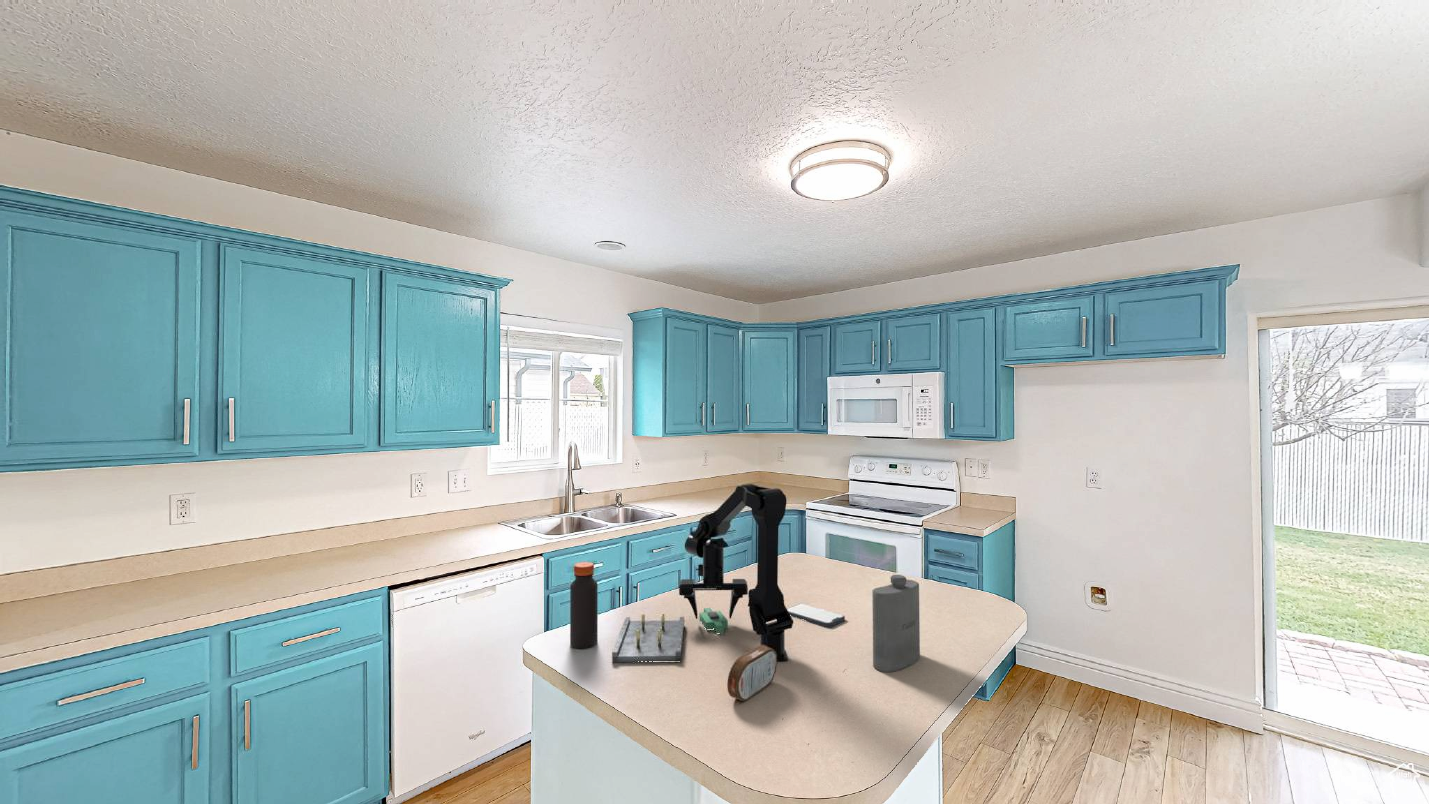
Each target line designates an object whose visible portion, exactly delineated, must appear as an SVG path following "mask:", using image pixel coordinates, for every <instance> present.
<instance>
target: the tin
mask: <svg viewBox="0 0 1429 804" xmlns="http://www.w3.org/2000/svg"><path fill="white" fill-rule="evenodd" d="M777 662H778V661H777V654H776V652H775V650H773V649H772V648H769V647H767V646H766V645H761V644H760V645H758V646H756V647H754V648H753V649H751V650H749V651H747V652H746V653H744V654H742V655H741V656H738V658H736V659H735V661H734V662H733V664H732V666H731V668H730V670H729V673H728V677H727V681H726V682H727V688H726V689H727V691H728V695H729V696H730V697H731V698H734V699H737V700H738V701H741V702H746V701H748V700H749V699H751V698H752V697H754V696H755V695H757V694H759V693H760V692H762V691H763V690H764V689H766V688H767V687H769V685H771V683H772V681H773V680H774V677H775V675H776V672H777V664H778V663H777ZM759 691H760V692H759ZM756 693H757V694H756ZM753 695H754V696H753Z"/></svg>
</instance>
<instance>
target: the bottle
mask: <svg viewBox="0 0 1429 804" xmlns="http://www.w3.org/2000/svg"><path fill="white" fill-rule="evenodd" d="M594 566H595V563H594V562H590V561H581V562H577V563H575V564H573V576H574V577H575V579H574V580H573V581H572V582H571V584H570V587H569V588H570V589H569V593H570V594H569V595H570V598H569V599H570V601H569V603H570V604H569V607H570V609H569V610H570V611H569V612H570V613H569V614H570V615H569V619H570V621H569V622H570V623H569V632H570V634H569V638H570V639H569V644H570V646H571V647H572V648H573V649H578V650H582V649H583V650H584V649H588V648H589V649H590V648H592V647H594V646H596V645H597V643H598V639H599V638H598V631H599V630H598V627H599V626H598V623H599V622H598V617H599V616H598V612H599V610H598V600H599V599H598V594H599V593H598V591H599V590H598V589H599V588H598V587H599V586H598V582H597V580H596V579H594V578H593V576H594V573H595V572H594V571H595V567H594Z"/></svg>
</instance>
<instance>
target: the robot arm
mask: <svg viewBox="0 0 1429 804" xmlns="http://www.w3.org/2000/svg"><path fill="white" fill-rule="evenodd" d="M787 500H788V499H787V496H786V494H785V493H784V492H783V490H782V489H780V488H778V487H775V488H769V487H764V486H759V485H756V484H754V483H748V484H747V483H746V484H740V485H738V486H736V487H735V489H734V491H733V492H732V494H730V496H728V498H727V499H726V500H724V502H723V503H722V504H721V505H720V506H719V507H718V508H717V509H716V510H714V511H713V512H710V513H707V514H705V515H704V516H702V517H701V518H700V519H699V520H698V521H699V522H698V524H697V527H696V529H695V530H690V535H689V536H688V537H687V538H686V539H685V543H684V549H685V551H686V553H688V554H691V556H692V555H693V556H695V557H698V558H701V559H702V564H697V576H698V577H702V582H695V580H694V579H688V578H687V579H685V578H683V579H681V580H680V581H679V584H678V585H679V586H678V595H679V596H683V598H684V599H687V600H688V602H689V604H690V606H691V608H692V612H693V614H694V617H695V619H696V620H698V614H699V612H698V607H697V606H698V605H697V597H696V591H730V600H729V601H730V603H729V610H728V616H729V617H728V618H729V619H730V620H731V618H732V616H733V614H734V610H735V608H736V605H737V604H738V602H739V600H740V599H742V598H744V596H746V595H748V601H747V602H748V603H747V607H749V608H748V612H749V616H750V621H751V626H752V630H753V631H754V632H755V633H756V635H757V636H760V645H766V646H767V647H769V648H772V649H773V650H775V652H776V654H777V662H787V661H788V660H789V658H788V655H787V652H786V649H785V647H786V645H785V641H786V640H785V639H786V638H785V631H786V630H789V629H790V630H791V629H792V628H793V626H794V619H793V617H792V616H790V614H789V612H788V610H787V609H788V608H787V607H786V605H785V597H784V593H783V591H782V590H781V588H780V586H779V584H778V581H779V580H778V579H779V527H780V525H781V522H782V520H783V519H784V517H785V515H786V509H787V508H786V507H787ZM746 507H748V508H750V509H751V515H752V517H753V519H754V521H755V522H756V524H757V570H756V571H757V572H756V574H757V576H756V577H757V578H756V586H755V587H754V588H751V589H749V588H748V583H747V582H748V581H747V580H746V578H732V582H725V581H724V579H725V578H724V576H725V575H724V574H725V573H724V572H725V571H724V570H725V569H724V567H725V566H724V565H725V563H724V558H725V557H724V554H725V553H724V549H725V548H728V547H729V544H728V542H727V541H725V540H724V538H723V537H722V536H725V535H726V534H727V533H728V531H729V529H730V528H731V522H732V520H734V519H735V517H737V516H738V515H739V514H740V513H741V512H742V511H743V510H744V508H746ZM718 537H719V538H718Z"/></svg>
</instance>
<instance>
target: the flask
mask: <svg viewBox="0 0 1429 804" xmlns="http://www.w3.org/2000/svg"><path fill="white" fill-rule="evenodd" d="M871 595H872V598H871V599H872V667H874V669H876V670H877V671H880V672H882V673H893V672H896V671H900V670H903V669H906V668H907V667H910V666H911V665H913V664H914V663H915V662H917V661H918V660H919V659H920V657H921V656H920V655H921V650H920V649H921V647H920V646H921V641H920V638H921V637H920V636H921V634H920V633H921V631H920V629H921V628H920V583H919V582H917V581H915V580H912V579H908V578H907V577H906V576H904V575H902V574H893V575H891V576H890V584H888V585H885V586H880V587H875V588H873V589H872V594H871Z"/></svg>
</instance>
